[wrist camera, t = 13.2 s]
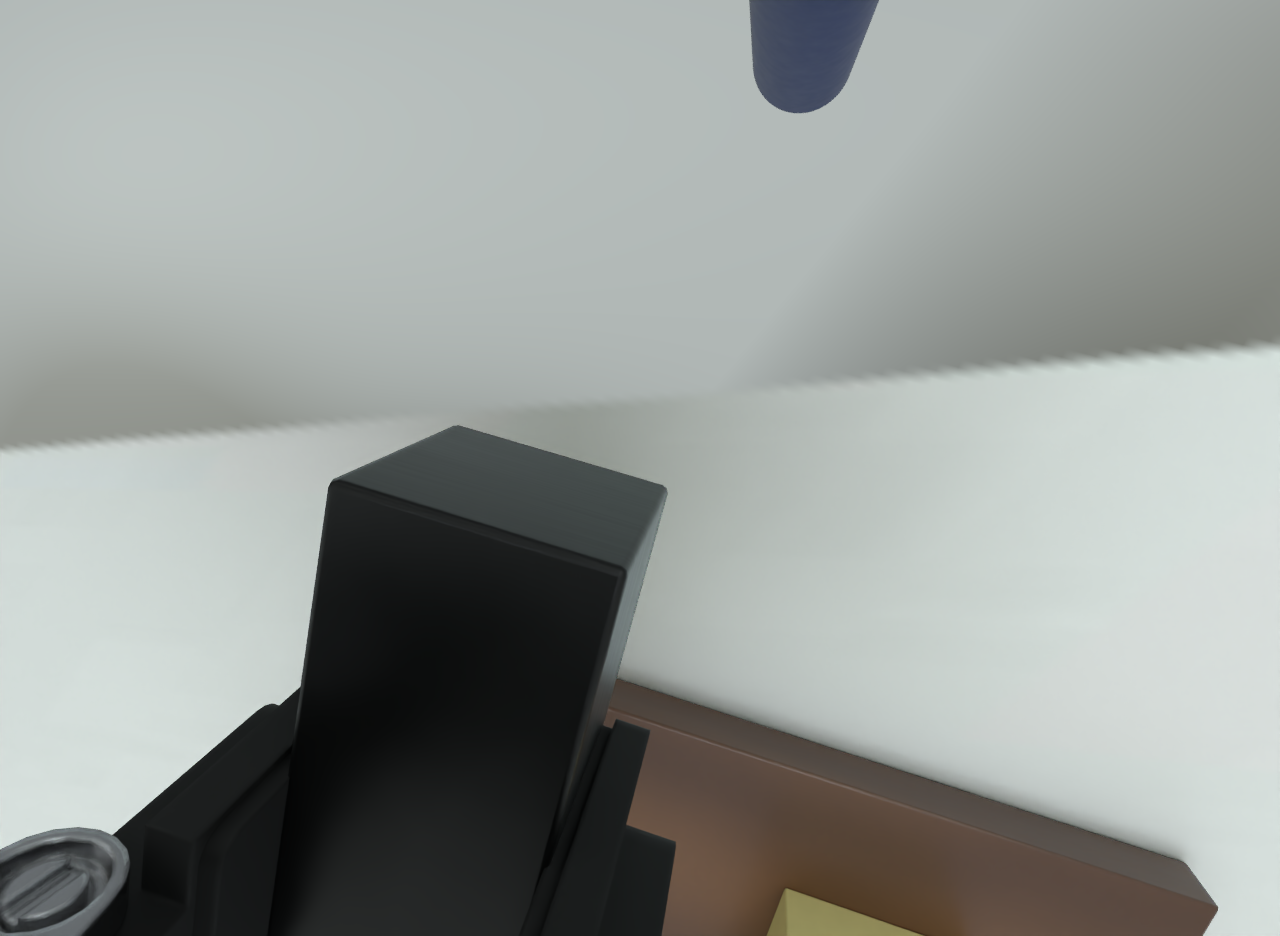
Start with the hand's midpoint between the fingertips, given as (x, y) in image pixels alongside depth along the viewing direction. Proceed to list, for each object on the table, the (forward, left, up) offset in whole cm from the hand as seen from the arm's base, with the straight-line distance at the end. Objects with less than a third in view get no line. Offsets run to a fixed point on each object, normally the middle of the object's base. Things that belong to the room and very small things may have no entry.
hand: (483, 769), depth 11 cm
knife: (+5, 0, 0) cm, 5 cm away
